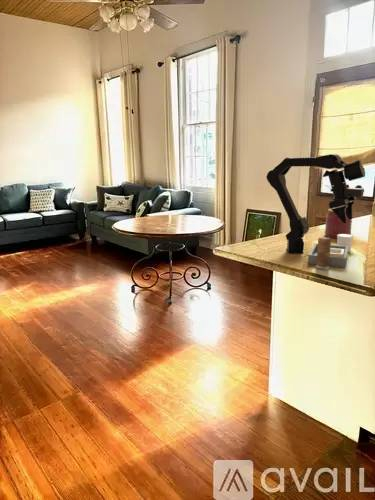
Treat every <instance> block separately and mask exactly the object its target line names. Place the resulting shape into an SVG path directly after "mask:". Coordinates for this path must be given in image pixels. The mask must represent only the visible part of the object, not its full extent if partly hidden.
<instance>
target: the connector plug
mask: <svg viewBox="0 0 375 500" xmlns="http://www.w3.org/2000/svg"><path fill="white" fill-rule="evenodd" d="M331 243H332V238H330V237H326V236H323V237H322V236H321V237H318V240H317V244H318V251H317V265H315V268H316V269H317V270H318V271H319V270H320V271H329V270H330V267H329V260H330V247H331V245H332V244H331Z"/></svg>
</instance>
